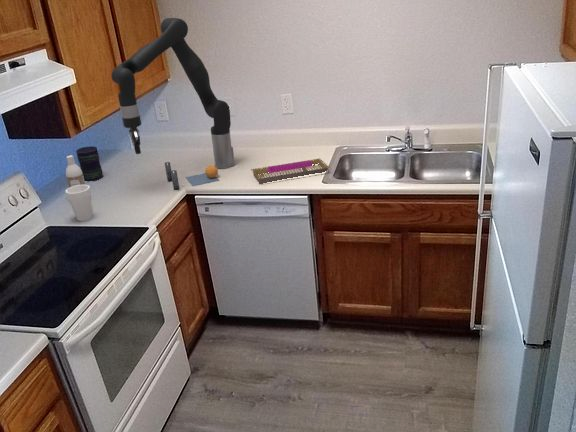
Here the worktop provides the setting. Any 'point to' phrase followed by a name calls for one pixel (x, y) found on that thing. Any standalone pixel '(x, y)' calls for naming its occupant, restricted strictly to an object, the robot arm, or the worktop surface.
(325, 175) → the worktop surface
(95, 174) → the storage jar
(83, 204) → the foam cup
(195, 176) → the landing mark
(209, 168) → the ball
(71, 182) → the bath foam
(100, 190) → the worktop surface
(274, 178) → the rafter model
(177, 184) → the post
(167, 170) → the post
